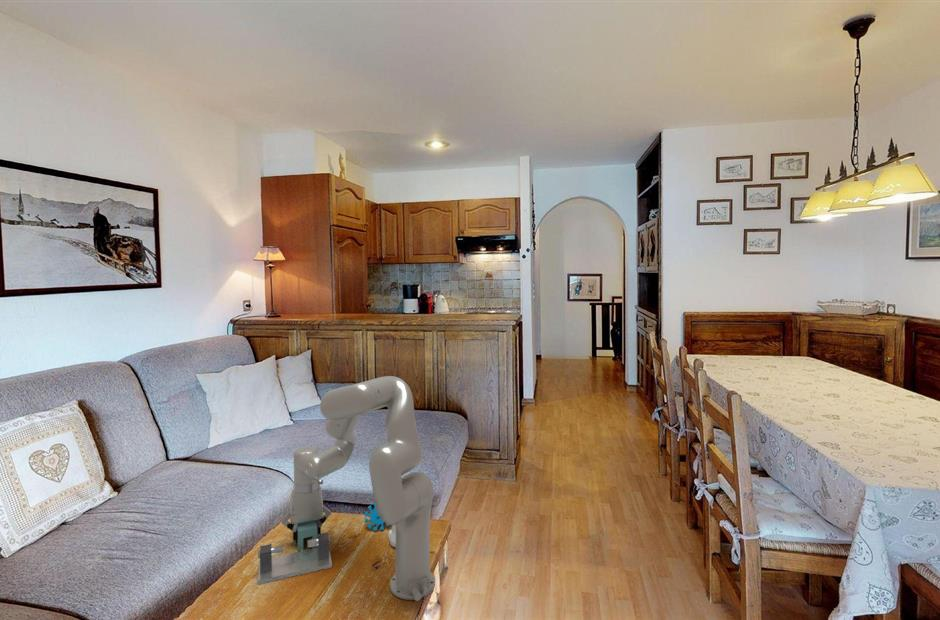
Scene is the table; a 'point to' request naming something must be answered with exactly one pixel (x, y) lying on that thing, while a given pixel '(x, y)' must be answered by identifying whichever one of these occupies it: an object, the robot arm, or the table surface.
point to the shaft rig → (293, 560)
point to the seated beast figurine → (392, 536)
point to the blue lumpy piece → (374, 518)
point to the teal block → (306, 532)
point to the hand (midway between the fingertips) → (307, 539)
